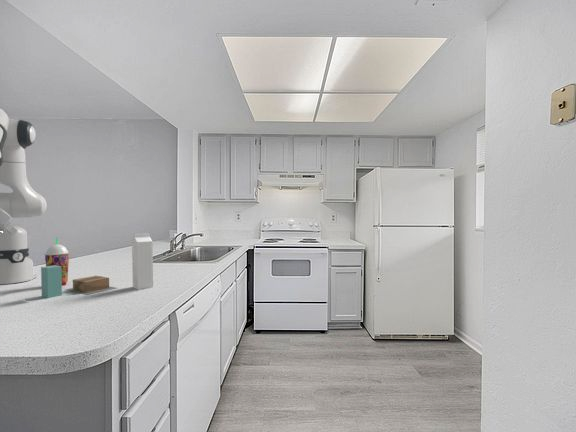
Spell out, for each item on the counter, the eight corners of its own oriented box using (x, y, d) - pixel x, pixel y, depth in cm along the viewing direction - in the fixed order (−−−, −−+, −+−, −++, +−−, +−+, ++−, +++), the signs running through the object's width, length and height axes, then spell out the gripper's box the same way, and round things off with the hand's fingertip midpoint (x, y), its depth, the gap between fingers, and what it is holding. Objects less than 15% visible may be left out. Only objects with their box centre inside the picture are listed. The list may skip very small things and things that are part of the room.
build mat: (64, 290, 130) (64, 289, 130) (94, 284, 140) (94, 283, 140) (87, 296, 122) (87, 294, 122) (118, 289, 132) (118, 288, 132)
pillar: (41, 297, 120) (41, 267, 120) (55, 294, 124) (54, 265, 124) (48, 299, 118) (47, 268, 118) (61, 296, 122) (61, 266, 121)
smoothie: (49, 289, 132) (48, 239, 132) (42, 286, 137) (41, 237, 137) (73, 285, 139) (72, 237, 138) (65, 282, 144) (64, 236, 143)
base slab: (73, 289, 129) (72, 279, 129) (96, 285, 137) (96, 275, 137) (86, 292, 125) (85, 282, 125) (109, 287, 133) (109, 277, 133)
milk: (153, 288, 134) (152, 233, 133) (137, 290, 130) (137, 234, 129) (147, 285, 138) (147, 232, 138) (132, 287, 134) (131, 233, 134)
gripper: (-9, 193, 98) (31, 225, 106) (-36, 195, 108) (3, 224, 116) (-29, 208, 94) (14, 240, 102) (-54, 209, 104) (-13, 238, 113)
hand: (8, 232), depth 110 cm, fingers open, 8 cm apart
